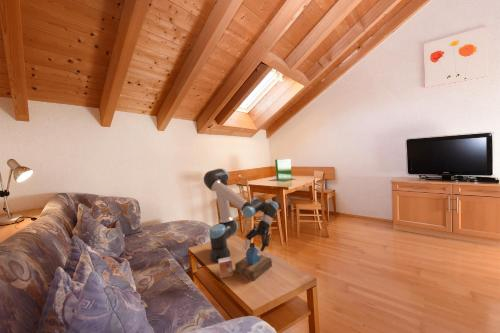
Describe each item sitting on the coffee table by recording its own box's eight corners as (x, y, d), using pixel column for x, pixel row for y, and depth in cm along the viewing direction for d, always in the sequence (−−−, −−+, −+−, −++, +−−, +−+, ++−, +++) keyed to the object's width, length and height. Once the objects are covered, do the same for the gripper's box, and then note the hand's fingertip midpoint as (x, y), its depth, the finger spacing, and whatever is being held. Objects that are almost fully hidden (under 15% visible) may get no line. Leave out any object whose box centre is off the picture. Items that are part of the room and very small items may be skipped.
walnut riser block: (235, 272, 144) (235, 264, 143) (254, 260, 157) (253, 252, 156) (254, 281, 133) (253, 272, 132) (272, 267, 146) (271, 258, 146)
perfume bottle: (253, 265, 140) (251, 247, 139) (246, 261, 145) (245, 244, 143) (260, 260, 144) (258, 243, 143) (253, 257, 149) (252, 240, 147)
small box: (220, 279, 138) (218, 263, 137) (219, 274, 143) (217, 258, 142) (233, 275, 140) (231, 260, 139) (231, 271, 145) (229, 256, 144)
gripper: (282, 229, 143) (268, 260, 135) (256, 221, 162) (242, 248, 154) (275, 224, 139) (261, 256, 131) (250, 216, 158) (235, 244, 150)
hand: (251, 252), depth 143 cm, fingers open, 13 cm apart
